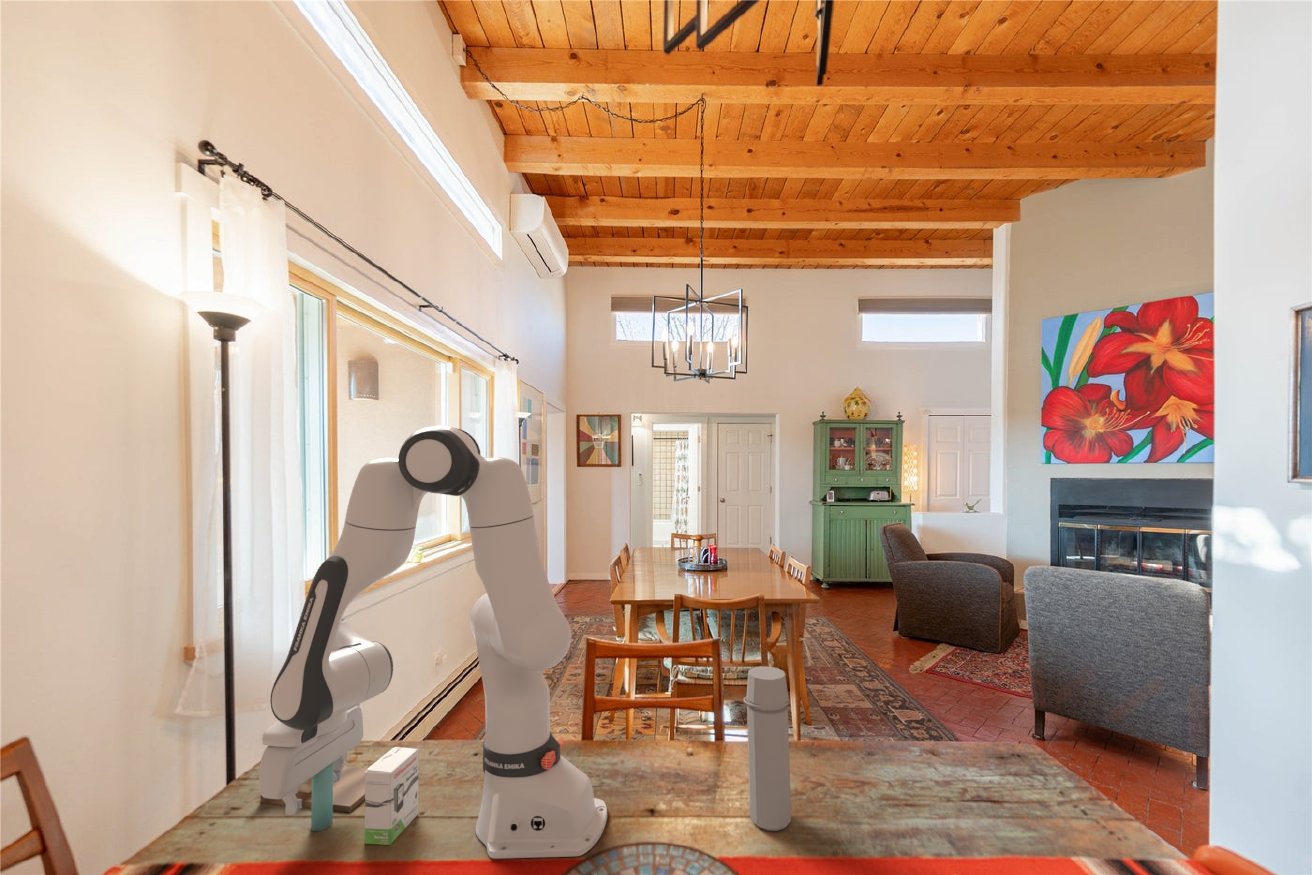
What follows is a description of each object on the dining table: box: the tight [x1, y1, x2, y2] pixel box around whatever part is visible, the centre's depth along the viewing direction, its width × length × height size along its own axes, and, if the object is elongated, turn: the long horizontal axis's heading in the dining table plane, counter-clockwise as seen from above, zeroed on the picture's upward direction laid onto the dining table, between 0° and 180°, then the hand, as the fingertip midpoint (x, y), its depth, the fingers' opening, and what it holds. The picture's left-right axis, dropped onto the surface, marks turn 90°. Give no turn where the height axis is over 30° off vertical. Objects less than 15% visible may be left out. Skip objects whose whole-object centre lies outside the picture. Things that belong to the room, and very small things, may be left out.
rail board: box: [260, 765, 369, 813], centre depth 108 cm, size 19×12×6 cm, turn 80°
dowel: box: [310, 763, 334, 832], centre depth 97 cm, size 3×3×10 cm
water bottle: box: [743, 665, 792, 832], centre depth 98 cm, size 9×8×25 cm
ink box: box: [364, 746, 420, 846], centre depth 96 cm, size 9×5×12 cm, turn 172°
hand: (315, 795), depth 96 cm, fingers open, 8 cm apart
